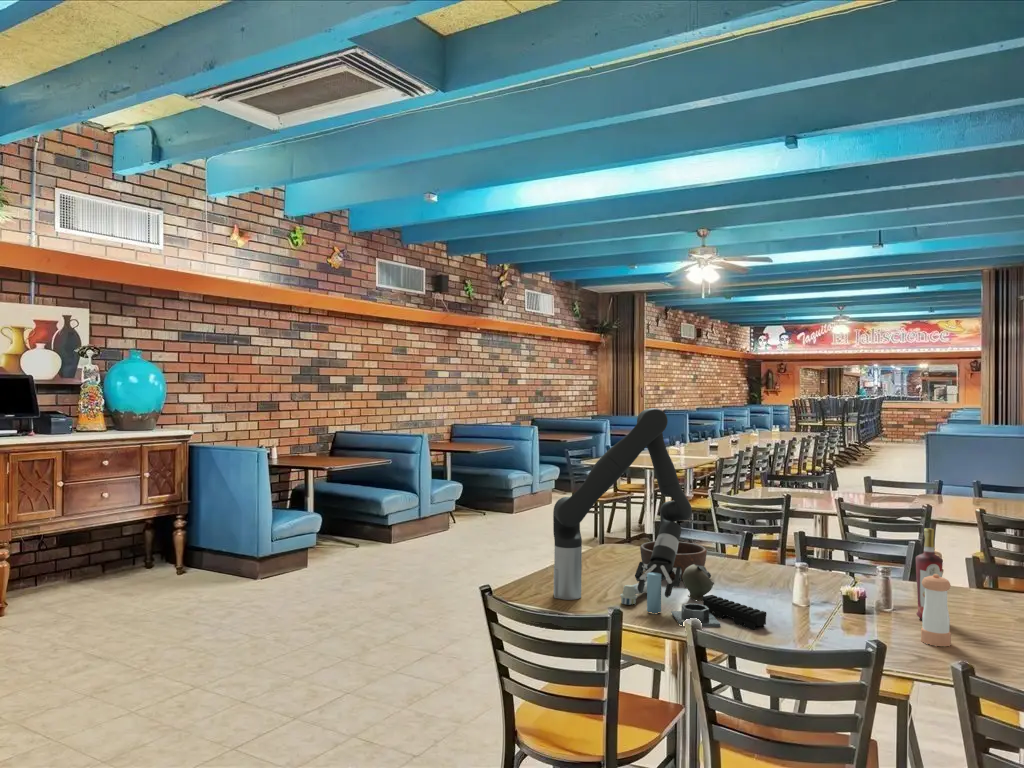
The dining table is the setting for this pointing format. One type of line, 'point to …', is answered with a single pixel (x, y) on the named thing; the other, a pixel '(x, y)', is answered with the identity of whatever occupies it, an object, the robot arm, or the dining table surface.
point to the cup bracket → (696, 615)
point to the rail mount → (735, 611)
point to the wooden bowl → (678, 555)
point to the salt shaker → (936, 612)
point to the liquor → (926, 567)
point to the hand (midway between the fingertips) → (653, 594)
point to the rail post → (654, 592)
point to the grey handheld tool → (631, 593)
